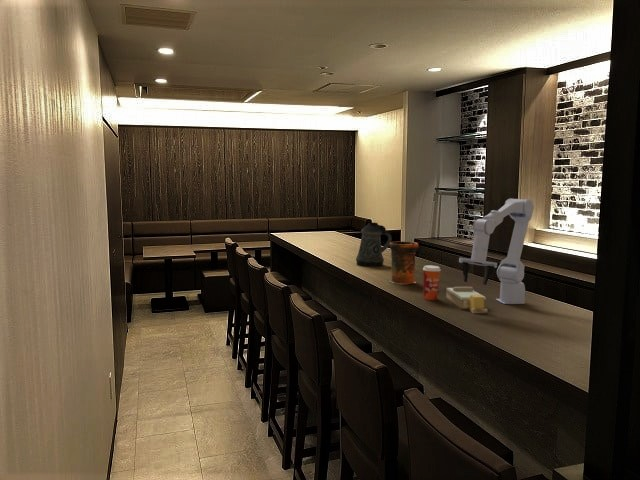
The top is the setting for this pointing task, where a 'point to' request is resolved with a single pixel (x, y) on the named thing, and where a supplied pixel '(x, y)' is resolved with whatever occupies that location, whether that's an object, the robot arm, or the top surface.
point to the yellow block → (476, 302)
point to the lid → (463, 292)
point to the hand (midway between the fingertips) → (474, 283)
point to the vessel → (403, 261)
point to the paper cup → (431, 282)
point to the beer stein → (372, 245)
